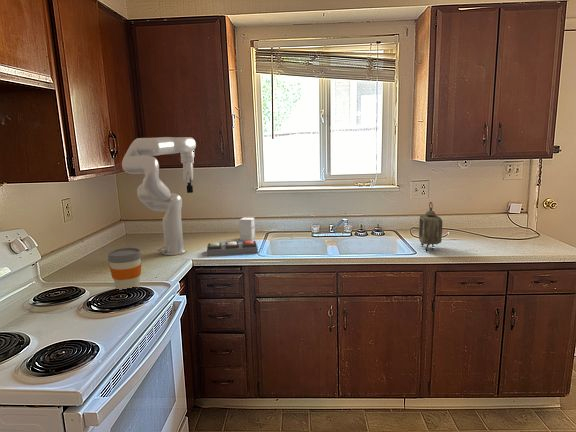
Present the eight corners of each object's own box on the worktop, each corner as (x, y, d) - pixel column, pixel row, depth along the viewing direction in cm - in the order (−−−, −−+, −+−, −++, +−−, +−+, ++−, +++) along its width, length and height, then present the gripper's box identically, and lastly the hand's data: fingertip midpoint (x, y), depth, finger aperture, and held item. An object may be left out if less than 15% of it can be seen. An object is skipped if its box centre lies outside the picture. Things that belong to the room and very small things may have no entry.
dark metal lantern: (418, 245, 221) (420, 199, 216) (435, 245, 219) (438, 199, 215) (422, 252, 207) (425, 204, 202) (441, 253, 205) (444, 204, 201)
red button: (244, 246, 213) (244, 243, 212) (244, 244, 217) (244, 240, 217) (254, 246, 213) (254, 242, 213) (253, 243, 218) (253, 240, 218)
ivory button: (227, 248, 211) (227, 244, 211) (227, 245, 216) (227, 241, 216) (237, 247, 212) (236, 243, 212) (236, 244, 217) (236, 241, 216)
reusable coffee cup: (133, 293, 159) (130, 256, 156) (104, 292, 161) (100, 255, 158) (149, 282, 171) (146, 248, 168) (122, 281, 173) (119, 247, 171)
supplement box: (251, 241, 236) (251, 219, 234) (239, 240, 238) (238, 219, 235) (255, 238, 243) (254, 217, 241) (243, 237, 245) (242, 217, 243)
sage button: (209, 249, 210) (209, 245, 209) (210, 246, 215) (209, 242, 214) (219, 248, 210) (219, 244, 210) (219, 245, 215) (219, 242, 215)
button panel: (207, 256, 208) (206, 247, 207) (207, 250, 217) (207, 242, 216) (257, 252, 212) (257, 244, 211) (256, 247, 221) (255, 239, 221)
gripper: (182, 159, 234) (184, 191, 238) (179, 161, 220) (182, 194, 223) (195, 159, 235) (197, 190, 239) (193, 160, 221) (196, 194, 224)
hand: (190, 192), depth 231 cm, fingers closed
